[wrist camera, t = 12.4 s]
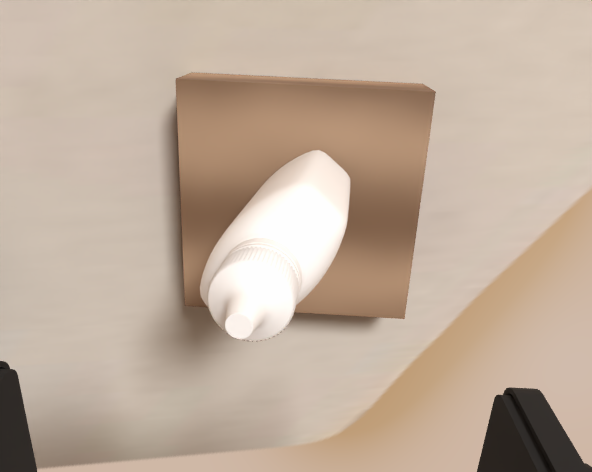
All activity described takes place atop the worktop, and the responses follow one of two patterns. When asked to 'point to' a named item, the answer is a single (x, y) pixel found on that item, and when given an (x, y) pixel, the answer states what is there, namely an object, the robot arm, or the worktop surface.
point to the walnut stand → (293, 143)
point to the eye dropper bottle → (277, 248)
